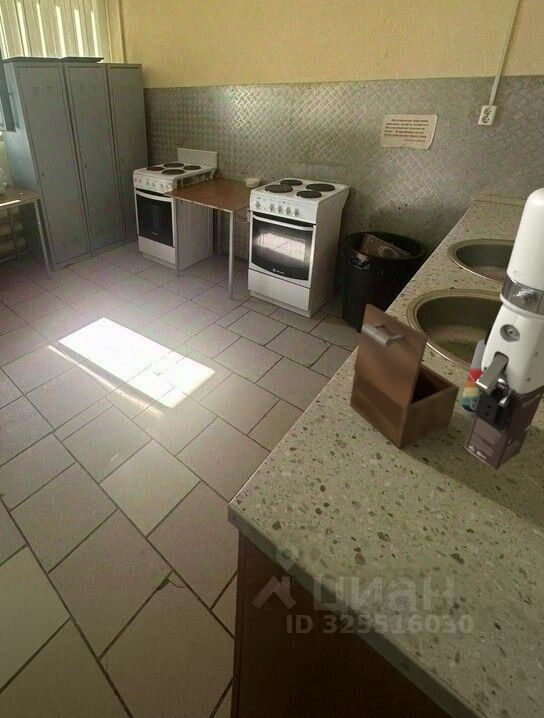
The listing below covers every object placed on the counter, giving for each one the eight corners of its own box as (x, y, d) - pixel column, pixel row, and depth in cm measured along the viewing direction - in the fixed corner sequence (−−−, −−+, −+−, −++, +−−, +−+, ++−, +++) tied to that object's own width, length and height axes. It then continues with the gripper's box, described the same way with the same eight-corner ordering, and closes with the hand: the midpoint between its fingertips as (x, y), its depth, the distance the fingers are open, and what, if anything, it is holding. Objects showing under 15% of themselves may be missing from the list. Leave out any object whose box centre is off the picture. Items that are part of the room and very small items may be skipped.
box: (498, 473, 52) (522, 402, 47) (462, 447, 55) (482, 379, 51) (523, 454, 54) (549, 384, 50) (488, 430, 58) (508, 364, 53)
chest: (397, 385, 87) (404, 351, 83) (449, 423, 77) (459, 387, 73) (349, 405, 82) (354, 370, 78) (398, 449, 71) (407, 411, 68)
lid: (369, 303, 74) (349, 308, 72) (428, 337, 63) (406, 344, 61) (356, 368, 78) (337, 374, 76) (409, 408, 68) (388, 417, 66)
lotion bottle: (456, 410, 80) (479, 326, 72) (464, 396, 83) (488, 314, 76) (490, 426, 76) (518, 339, 68) (497, 411, 79) (525, 326, 72)
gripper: (538, 330, 39) (495, 461, 46) (624, 290, 46) (576, 410, 52) (462, 297, 46) (434, 416, 52) (547, 266, 52) (512, 376, 59)
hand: (505, 412), depth 52 cm, fingers closed on box, 6 cm apart
